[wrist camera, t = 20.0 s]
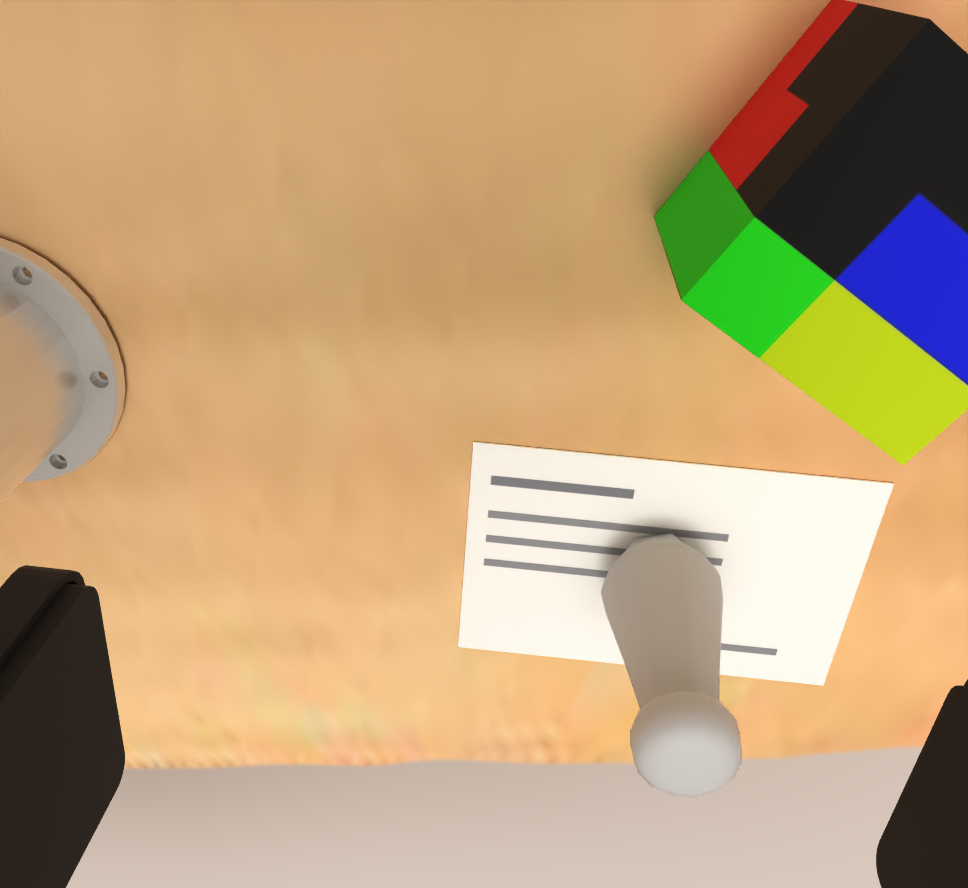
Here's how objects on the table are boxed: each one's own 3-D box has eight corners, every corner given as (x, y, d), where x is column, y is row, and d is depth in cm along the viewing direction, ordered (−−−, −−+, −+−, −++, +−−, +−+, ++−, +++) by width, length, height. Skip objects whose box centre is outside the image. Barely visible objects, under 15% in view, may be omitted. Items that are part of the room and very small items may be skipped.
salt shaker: (579, 582, 47) (585, 788, 35) (635, 500, 44) (660, 695, 33) (677, 624, 47) (713, 838, 36) (738, 547, 45) (797, 752, 33)
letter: (458, 645, 50) (458, 647, 49) (473, 441, 43) (473, 443, 43) (822, 684, 49) (823, 686, 49) (893, 482, 42) (894, 484, 42)
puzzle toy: (1017, 162, 35) (1166, 235, 27) (828, 349, 40) (902, 465, 31) (832, -3, 33) (929, 18, 24) (653, 216, 37) (680, 300, 29)
